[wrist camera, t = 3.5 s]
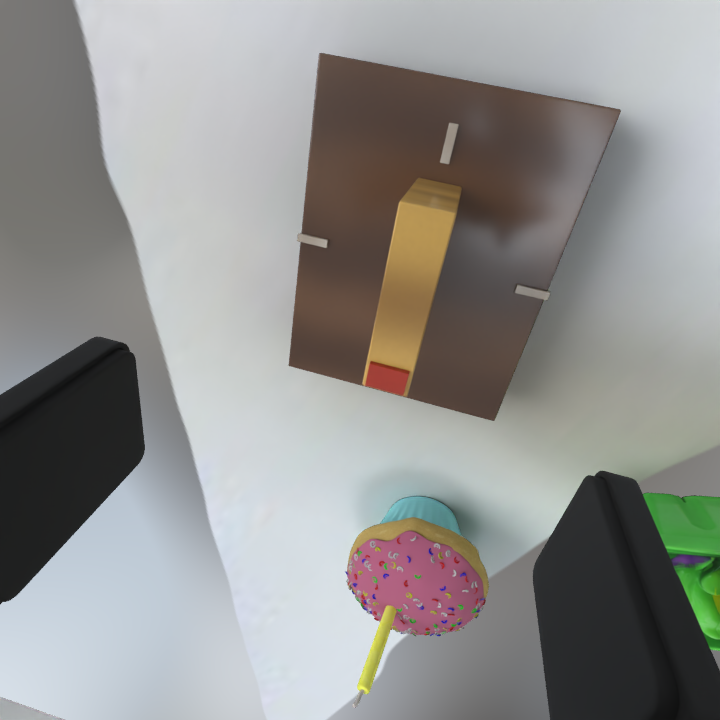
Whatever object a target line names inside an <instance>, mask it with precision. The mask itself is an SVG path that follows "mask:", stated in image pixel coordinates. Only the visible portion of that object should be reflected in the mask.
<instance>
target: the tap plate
mask: <svg viewBox="0 0 720 720" xmlns="http://www.w3.org/2000/svg"><path fill="white" fill-rule="evenodd" d="M620 112H621V110H620V109H615V108H610V107H605V106H599V105H594V104H589V103H583V102H578V101H573V100H568V99H562V98H557V97H552V96H546V95H541V94H536V93H531V92H525V91H520V90H515V89H509V88H504V87H499V86H494V85H488V84H483V83H478V82H472V81H467V80H462V79H457V78H451V77H446V76H441V75H435V74H430V73H425V72H420V71H414V70H409V69H404V68H398V67H393V66H388V65H383V64H377V63H372V62H367V61H361V60H356V59H351V58H346V57H340V56H335V55H330V54H324V53H319V59H318V70H317V80H316V90H315V100H314V111H313V121H312V131H311V142H310V152H309V162H308V172H307V183H306V193H305V203H304V213H303V224H302V233H298V239H297V241H299V242H301V244H300V255H299V265H298V275H297V285H296V296H295V306H294V316H293V326H292V337H291V347H290V357H289V366H291V367H295V368H299V369H303V370H306V371H310V372H314V373H317V374H321V375H325V376H329V377H332V378H336V379H340V380H343V381H347V382H351V383H355V384H358V385H362V386H364V385H363V384H362V382H363V377H364V372H365V367H366V362H367V358H368V353H369V348H370V343H371V338H372V333H373V328H374V323H375V318H376V313H377V308H378V303H379V298H380V293H381V288H382V283H383V279H384V274H385V269H386V264H387V259H388V254H389V249H390V244H391V239H392V234H393V229H394V224H395V219H396V214H397V209H398V205H399V202H400V200H401V199H402V198H403V197H404V195H405V194H406V193H407V192H408V190H409V189H410V188H411V186H412V185H413V184H414V183H415V181H416V180H417V179H418V178H422V179H427V180H432V181H436V182H441V183H446V184H450V185H455V186H460V187H461V188H462V190H461V195H460V200H459V205H458V209H457V214H456V218H455V222H454V226H453V229H452V233H451V237H450V240H449V244H448V248H447V252H446V255H445V259H444V263H443V266H442V270H441V274H440V277H439V281H438V285H437V288H436V292H435V296H434V300H433V303H432V307H431V311H430V314H429V318H428V322H427V325H426V329H425V333H424V337H423V340H422V344H421V348H420V351H419V355H418V359H417V362H416V366H415V370H414V373H413V377H412V381H411V385H410V388H409V392H408V395H407V396H406V397H407V398H410V399H414V400H418V401H421V402H425V403H429V404H433V405H436V406H440V407H444V408H447V409H451V410H455V411H459V412H462V413H466V414H470V415H473V416H477V417H481V418H485V419H488V420H492V421H494V420H495V418H496V416H497V413H498V411H499V408H500V406H501V403H502V401H503V398H504V396H505V394H506V391H507V389H508V386H509V384H510V381H511V379H512V376H513V374H514V372H515V369H516V367H517V364H518V362H519V359H520V357H521V354H522V352H523V350H524V347H525V345H526V342H527V340H528V337H529V335H530V332H531V330H532V328H533V325H534V323H535V320H536V318H537V315H538V313H539V310H540V308H541V305H542V303H543V301H544V300H548V298H549V296H550V292H549V291H548V288H549V286H550V283H551V281H552V279H553V276H554V274H555V271H556V269H557V266H558V264H559V261H560V259H561V257H562V254H563V252H564V249H565V247H566V244H567V242H568V239H569V237H570V235H571V232H572V230H573V227H574V225H575V222H576V220H577V217H578V215H579V213H580V210H581V208H582V205H583V203H584V200H585V198H586V195H587V193H588V190H589V188H590V186H591V183H592V181H593V178H594V176H595V173H596V171H597V168H598V166H599V164H600V161H601V159H602V156H603V154H604V151H605V149H606V146H607V144H608V142H609V139H610V137H611V134H612V132H613V129H614V127H615V124H616V122H617V120H618V117H619V115H620ZM366 387H368V386H366ZM369 388H372V387H369ZM373 389H375V388H373ZM377 390H379V389H377ZM381 391H383V390H381ZM384 392H387V391H384ZM388 393H390V392H388ZM392 394H394V393H392ZM395 395H398V394H395ZM399 396H401V395H399ZM403 397H405V396H403Z"/></svg>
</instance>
